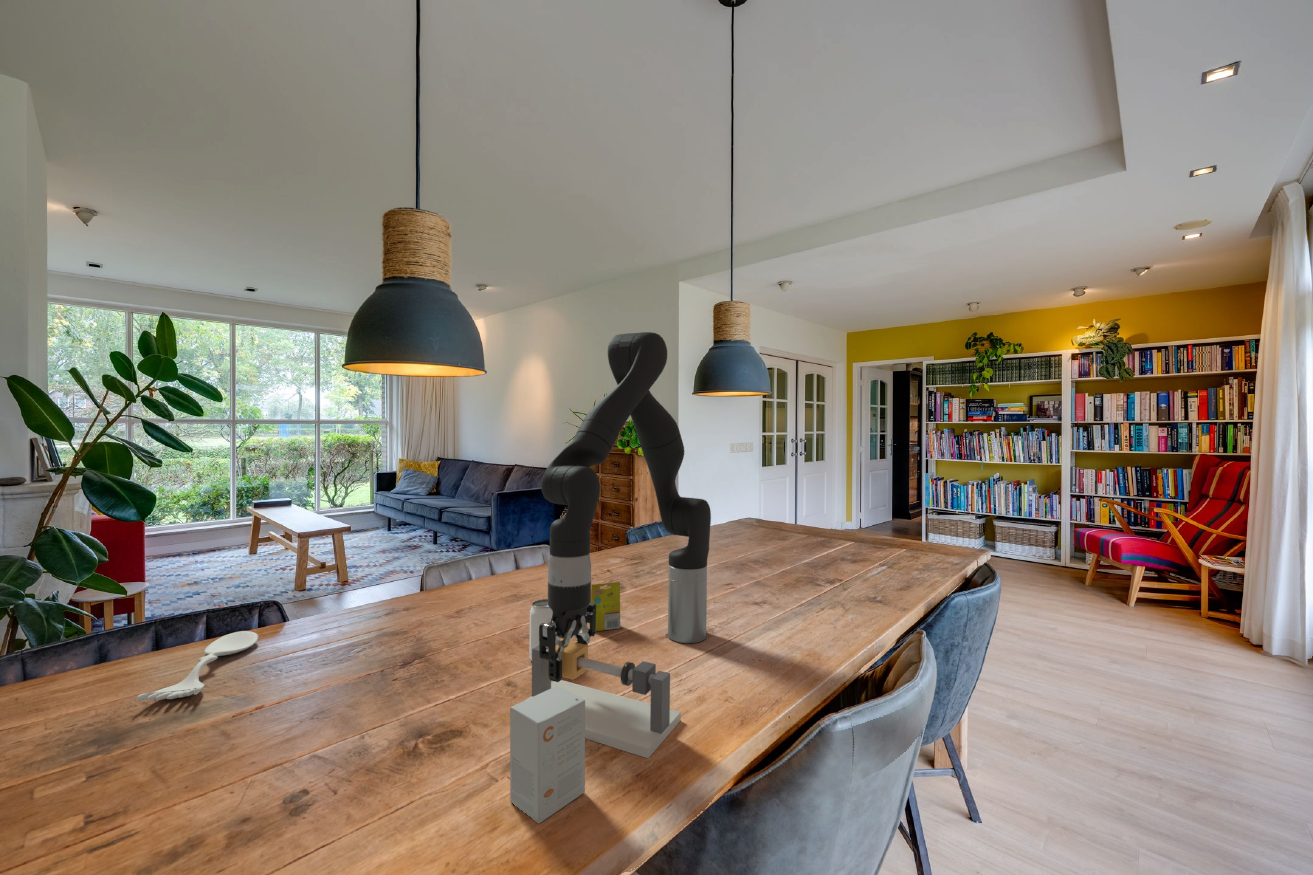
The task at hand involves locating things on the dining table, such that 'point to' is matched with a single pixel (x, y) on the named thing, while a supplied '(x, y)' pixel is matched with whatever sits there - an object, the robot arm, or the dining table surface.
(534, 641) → the can
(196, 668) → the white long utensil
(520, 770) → the small box
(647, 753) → the cable stand
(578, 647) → the sleeve
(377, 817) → the dining table surface
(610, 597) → the crayon box
